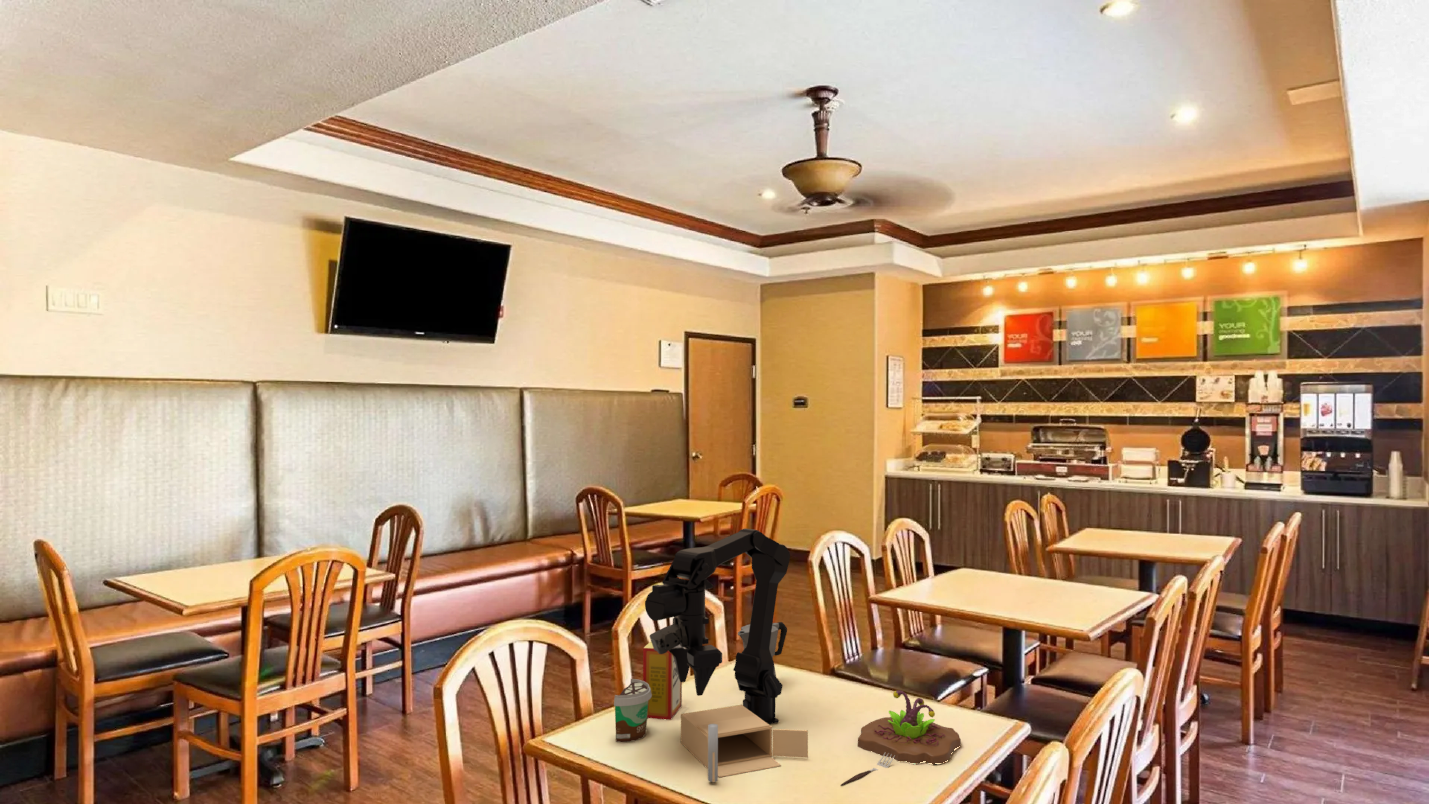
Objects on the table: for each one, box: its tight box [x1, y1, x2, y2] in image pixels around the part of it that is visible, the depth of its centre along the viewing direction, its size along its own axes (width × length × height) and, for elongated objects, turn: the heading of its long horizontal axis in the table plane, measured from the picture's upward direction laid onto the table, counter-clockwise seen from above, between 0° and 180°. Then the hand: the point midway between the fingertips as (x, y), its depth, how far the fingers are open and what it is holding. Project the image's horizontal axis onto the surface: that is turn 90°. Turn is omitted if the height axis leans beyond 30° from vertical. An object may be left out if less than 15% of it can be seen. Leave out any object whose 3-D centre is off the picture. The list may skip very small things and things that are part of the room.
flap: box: [707, 724, 719, 783], centre depth 159 cm, size 7×2×10 cm, turn 8°
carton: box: [680, 704, 809, 779], centre depth 171 cm, size 20×19×6 cm
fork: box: [840, 752, 895, 787], centre depth 161 cm, size 3×16×2 cm, turn 134°
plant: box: [857, 689, 962, 764], centre depth 175 cm, size 20×20×11 cm
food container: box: [613, 678, 652, 743], centre depth 180 cm, size 12×6×10 cm, turn 168°
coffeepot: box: [737, 621, 788, 677], centre depth 211 cm, size 15×9×18 cm, turn 125°
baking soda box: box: [642, 641, 683, 721], centre depth 194 cm, size 10×6×16 cm
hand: (690, 688), depth 173 cm, fingers open, 9 cm apart
